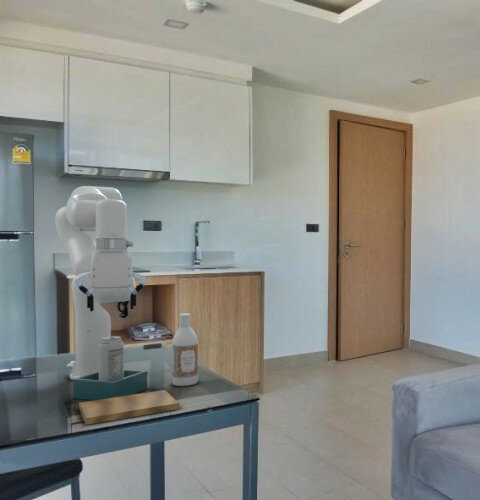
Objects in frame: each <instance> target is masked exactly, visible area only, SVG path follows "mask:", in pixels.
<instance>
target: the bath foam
mask: <svg viewBox="0 0 480 500" xmlns="http://www.w3.org/2000/svg"><path fill="white" fill-rule="evenodd" d="M198 340H199V339H198V336H197V334H196V333H195V331H194V329H193V328H192V327H191V313H180V314H179V327H178V329H177V330H176V332H175V334H174V335H173V338H172V342H171V343H172V344H171V354H172V355H171V367H172V368H171V374H172V376H171V377H172V378H171V379H172V381H171V382H172V386H176V387H190V386H194V385H196V384H197V383H199V341H198Z"/></svg>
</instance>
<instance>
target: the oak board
mask: <svg viewBox="0 0 480 500" xmlns="http://www.w3.org/2000/svg"><path fill="white" fill-rule="evenodd" d="M179 409H180V402H179V401H177V399H175V398H174V397H173V396H172V395H171V394H170V393H169V392H168V391H167V390H165V389H161V390H156V391H155V390H154V391H149V392H148V391H147V392H141V393H136V394H133V395H128V396H121V397H114V398H107V399H101V400H88V401H82V402H78V410H79V412H80V414H81V417H82V419H83V422H84V423H85V425H86V426H87V425H93V424H100V423H105V422H111V421H117V420H123V419H128V418H135V417H140V416H146V415H152V414H157V413H162V412H169V411H174V410H179Z"/></svg>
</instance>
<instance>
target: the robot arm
mask: <svg viewBox="0 0 480 500" xmlns="http://www.w3.org/2000/svg"><path fill="white" fill-rule="evenodd" d="M54 222H55V223H54V224H55V229H56V232H57V236H58V237H59V239H60V241H61V242H62V244H63V245H64V247H65V249H67V252H68V256H69V261H70V266H71V269H72V271H73V274H74V275H75V276H74V277H73V278H72V280H71V293H72V300H73V306H74V327H75V328H74V330H75V331H74V333H75V334H74V335H75V337H74V338H75V347H74V348H75V351H74V352H75V353H74V354H75V360H71V361H70V362H69V363H67V364H66V369H72V372H71V373H70V374H69V379H70V380H72V381H73V379H75V378H79V377H82V376H85V375H89V374H92V373H95V372H99V343H100V342H101V338H103V337H109V336H112V323H111V322H112V321H111V319H112V318H111V316H110V314H109V312H108V311H107V310H106V309H105V308H104V307H103V306H102V304H107V303H120V302H123V303H124V302H128V301H130V302H129V304H130V305H129V307H130V310H134V307H136V306H137V294H138V293H139V292H140V291H141V290H142V289H143V288H144V286H145V285H146V282H147V280H148V278H147V277H146V276H144V275H141V274H139V273H137V272H135V271H134V270H133V259H132V254H131V251H130V250H128V248H130V247H131V248H132V247H134V241H129V240H128V205H127V203H126V202H125V201H124V200H123V195H122V194H121V191H120V190H119V189H117V188H115V187H111V186H94V185H93V186H92V185H83V186H78V187H76V188H75V189H74V190H72V192H71V194H70V197H69V198H68V200H67V202H66V206H62V207H60V208H59V209H58V210H57V211H56V213H55V218H54ZM86 232H95V239H94V238H93V237H92V236H90V235H89V234H87V233H86ZM136 279H137V280H139V281H140V282H139V283H138V285H137V284H136Z"/></svg>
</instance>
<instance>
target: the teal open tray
mask: <svg viewBox="0 0 480 500" xmlns="http://www.w3.org/2000/svg"><path fill="white" fill-rule="evenodd" d="M72 381H73V383H72V385H73V387H72V388H73V390H72V391H73V393H72V394H73V397H72V398H73V399H77V400H78V399H79V400H88V401H94V400H101V399H107V398H114V397H121V396H128V395H134V394H139V393H140V392H141V393H142V392H143V391H146V390H148V370H139V369H128V368H127V369H126V368H124V378H122V379H119V380H116V381H114V382H113V381H101V380H99V372H95V373H92V374H89V375H85V376H82V377H79V378H75V379H73V380H72Z"/></svg>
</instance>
